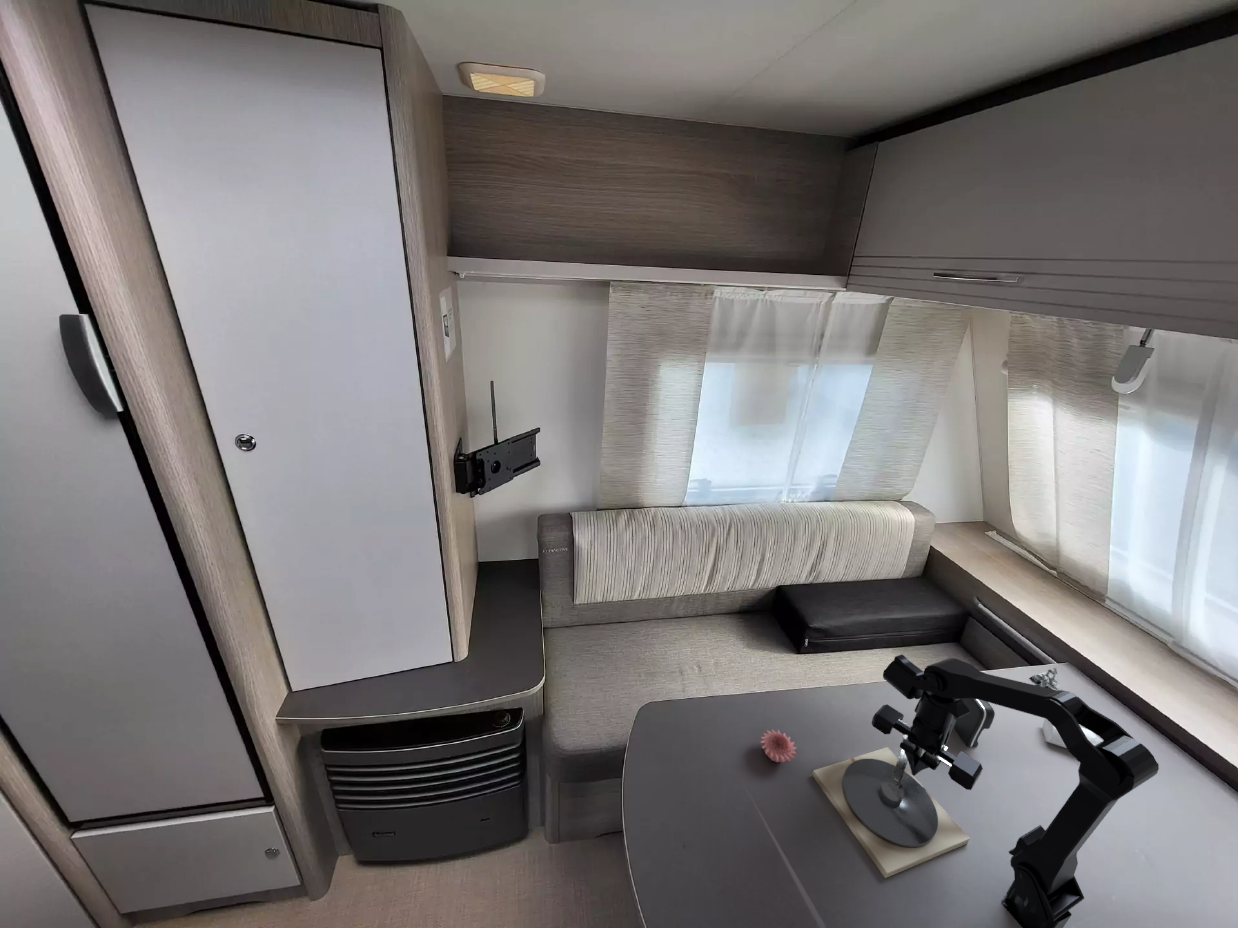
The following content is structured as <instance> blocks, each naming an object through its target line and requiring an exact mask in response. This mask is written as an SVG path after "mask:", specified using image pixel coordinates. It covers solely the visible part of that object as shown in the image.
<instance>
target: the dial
mask: <svg viewBox="0 0 1238 928" xmlns="http://www.w3.org/2000/svg"><path fill="white" fill-rule="evenodd" d="M897 758H898V760H897V763H896V766H894V765H892V764H890V763H887V762H884V761H881V760H877V759H860V760H857V761H855V762H853V763H851V764H850V765H849V766H848V767H847V769H846V771H845V774H844V777H843V781H842V789H843V794H844V797H845V800H846V802H847V804H848V806H849V808H850V810H851V811H852V813H853V814H854V815H855V817H856V818H857V819H858V820H859V821H860V822H861V823H862V824H863V825H864V826H865V827H866V828H867V829H868V830H869V831H870V832H872V833H873V834H875V835H876V836H878V837H879V838H881V839H882V840H884V841H886V842H888V843H891V844H894V845H896V846H900V847H905V848H918V847H922V846H925V845H926V844H928V843H929V842H930V841H931V840H932V839H933V837H934V835H935V833H936V831H937V828H938V816H937V811H936V808H935V806H934V804H933V802H932V800H931V798H930V797H929V795H928V794H927V792H926V791H925V790H924V789H923V787H924V786H923V785H922V784H921V783H920V782H919V783H920V784H921V785H922V786H923V787H922V786H921V785H920V784H919V783H918V782H917V781H916V780H915V779H914V778H912V777H911V776H910V775H909V774H907V773H906V772H905V771H904V770H905V767H906V768H907V764H908V759H907V757H906V754H905V752H904V750H903V749H901V748H900V752H899V755H898V757H897Z"/></svg>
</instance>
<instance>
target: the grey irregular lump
mask: <svg viewBox="0 0 1238 928" xmlns="http://www.w3.org/2000/svg"><path fill="white" fill-rule="evenodd" d="M1052 669H1053V670H1052ZM1050 674H1052V676H1051V675H1050ZM1057 675H1058V669H1057V667H1053V668H1049V669H1047V673H1046V671H1045V672H1042V673H1037V674H1035V675H1033V678H1034V679H1033V680H1034V682H1035V683H1037V684H1035V685H1036V686H1040V687H1044V688H1049V689H1053V690H1059V691H1060V690H1063V688H1062V687H1061V684H1060V681H1058V680H1057V679H1055V677H1056V676H1057ZM1038 682H1041V683H1038Z"/></svg>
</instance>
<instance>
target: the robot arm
mask: <svg viewBox="0 0 1238 928" xmlns="http://www.w3.org/2000/svg"><path fill="white" fill-rule="evenodd" d="M882 679H883V680H885V681H886V682H887V683H888V684H889V685H890V686H892V687H893V688H894V689H896V691H898V692H899V693H900V694H902V695H903V696H904V697H905V698H906V699H907V700H913V699H915V700H918V702H917V704H916V706H915V707H914V713H915V716H914V718H913V720H912V725H909V724H908V723H906V722H904V721H903V719H904V716H905V715H904V714H903V713H902V712H900V711H899V710H897V709H895V708H894V707H892V706H890V705H889V704H883V705H882V706H881V707H880V708H879V709H878V710H877V711H876V712H875V714H874V715H873V717H872V720H871V725H872V727H874V729H876V730H878V731H879V732H880V733H882V734H883V735H891V733H892V731H893V729H894V730H896V731H898V732H899V733H901V734H902V735H903V736H902V741H901V742H900V744H899V748H900V750H901V749H903V750H904V752H905V754H906V757H907V759H908V761H907V763H908V764H909V768H910V773H911V774H912V775H913V776H914V777H915V776H916V775H918V774H919V773H920V772H921V771H923V770H926V769H931V770H933V771H935V770H937V769H938V767H939V765H940V764H942V763H943V764H945V765H946V766H947V767H949V769H948V772H947V774H948V776H949V778H950V780H952V781H953V782H955V783H956V784H958V785H959V786H961V787H962V788H964V789H965V790H968V791H971V790H972V789H973V788H974V787H975V784H976V783H977V781H978V780H979V778H980V776H981V775H982V772H983V769H984V768H983V766H982V763H981V762H980V761H978V760H976V759H974V758H973V757H972V756H970V755H969V754H966V753H965V752H963V751H962V750H961V751H960V752H959V753H958V755H957V756H955V755H953V754H952V753H951V752H949V751H948V746H946V744H947V743H948V742H949V739H950V736H951V735H952V731H953V729H954V725H955V723H956V720H955V719H954V718H953V717H954V716H955V717H956V718H959V717H962V716H964V715H966V714H969V713H970V710H969V708H968V707H967V706H966V705H965V703H964V701H963V699H979V700H982V701H986V702H988V703H989V704H990V703H991V704H994V705H996V706H1001V707H1004V708H1007V709H1011V710H1014V711H1018V712H1020V713H1021V712H1022V713H1025V714H1029V715H1032V716H1035V717H1039V718H1043V719H1047V720H1048V721H1049V722H1050V723H1051V724H1052V725H1053V726H1054V727H1055V728H1056V729H1057V731H1058V733H1059V735H1060V737H1061V738H1062V740H1063V742H1064V744H1065V746H1066V747H1067V748H1066V749H1067V750H1068V752H1069V753H1070V754H1071V755H1072V756H1073V757H1074V759H1076V760H1077V761H1078V763H1080V764H1079V767H1078V771H1077V772H1078V780H1079V782H1078V784H1077V786H1076V787H1075V789H1074V790H1073V791H1072V793H1071V794H1070V795H1069V797H1068V798H1067V800H1066V801H1065V803H1064V804H1063V806H1061V808H1060V810H1059V811H1058V812H1057V813H1056V815H1055V816H1054V819H1052V821H1051V822H1050V824H1049V825H1048V826H1047V828H1046V829H1045V828H1044V827H1043V826H1042V825H1040V824H1038V826H1036V827H1034V828H1033V829H1031V830H1030V831H1028V832H1027V833H1025V834H1023V835H1021V836H1020V837H1018V839H1017V841H1016V844H1015V847H1013V848H1012V849H1010V850H1009V851H1008V854H1009V855H1011V858H1010V861H1009V862H1010V866H1011V868H1012V869H1013V871H1014V873H1013V874H1014V878H1013V879H1014V880H1013V881H1012V883H1011V884H1010V886H1009V888H1008V889H1007V891H1006V893H1005V894H1006V896H1007V897H1006V898H1004V899H1002V900H1001V905H1002V906H1003V908H1005V910H1006V911H1007V913H1009V914H1010V915H1011V916H1012V918H1013V919H1014V920H1015V921H1016V922H1017V923H1018V925H1019V926H1020V927H1021V928H1064V927H1065V926H1066V924H1067V922H1068V921H1069V919H1071V916H1072V912H1070V910H1071V909H1072V908H1074V907H1075V906H1076V905H1078V904H1080V903H1081V902H1082V901H1084V899H1085V896H1084V894H1083V891H1082V890H1081V888H1080V887H1081V886H1080V884H1079V883H1078V881H1077V879H1076V876H1075V873H1076V870H1077V867H1078V863H1079V862H1078V856H1077V855H1078V852H1079V851H1080V849H1081V848H1082V847H1083V845H1084V844H1085V843H1086V842H1087V840H1088V839H1090V836H1091V835H1092V834H1093V833H1094V831H1095V830H1096V829H1097V828H1098V826H1099V825H1100V824H1101V822H1102V821H1103V820H1104V819H1105V817H1106V816H1107V815H1108V813H1109V812H1110V811H1111V810H1112V809H1113V807H1114V806H1115V804H1116V803H1117V802H1118V800H1120V799H1121V798H1122V797H1124V796H1125V795H1127V794H1129V793H1131V791H1134V789H1135V790H1136V788H1138V787H1139V786H1141V785H1142V784H1144V783H1146V782H1147V781H1148V780H1150V779H1152V778H1153V777H1155V776H1156V775H1157V774H1158V771H1159V770H1160V768H1159V766H1160V765H1159V763H1158V761H1156V758H1155V756H1154V755H1153V754H1152V752H1151V751H1150V750H1149V749H1148V748H1147V747H1146V746H1145V745H1144V744H1142V743H1141V742H1140V741H1138V740H1137V739H1135V738H1134V737H1133V736H1132V735H1131V734H1130V733H1128V732H1127V730H1125V729H1124V728H1123V727H1122V726H1121V725H1119V724H1118V722H1116V721H1114V720H1113V719H1111V718H1109V717H1107V716H1106V715H1103V714H1102V713H1100V712H1099V711H1097V710H1095V709H1093V708H1091V706H1089V705H1088V704H1087V703H1086V702H1085V701H1083V699H1081V697H1079V696H1078V695H1077V694H1075V693H1074V692H1072V691H1067V690H1063V689H1062V690H1060V691H1059V690H1053V689H1049V688H1048V687H1045V688H1044V687H1040V686H1041V685H1040V686H1036V685H1037V684H1032V683H1031V684H1030V683H1028V682H1027V683H1026V682H1022V681H1019V680H1015V679H1011V678H1005V677H1001V676H998V675H997V676H996V675H993V674H990V673H989V674H988V673H986V672H983V671H982V670H981V671H980V670H979V669H978V668H977V667H975V666H974V665H973V664H970V663H967V662H965V661H963V660H961V659H958V658H954V657H948V658H945V659H942V660H939V661H937V662H934V663H932V664H928V665H927V666H926V667H925V668H924V671H923V670H922V669H921V668H920V667H918V666H917V665H915V664H914V663H913V662H911V660H909V659H908V657H906V656H905V655H904V654H899V655H896V656H894V659H893V660H892V661H891V662H890V663H889V664H888V666H886V668H885V669H884V670H883V672H882ZM1081 727H1082V728H1085V729H1088V730H1090V731H1092V732H1093V733H1094V734H1095V735H1096V736H1097V737H1099V738H1100V739H1101V740H1102V742H1100V743H1098V744H1097V745H1095V746H1094V745H1093V744H1092V743H1091V742H1090V741H1089V740H1088V739H1087V737H1086V736H1085V734H1084V732H1083V731H1082V729H1081ZM923 751H924V752H923ZM922 752H923V753H922ZM1004 903H1005V904H1006V905H1005V904H1004Z"/></svg>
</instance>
